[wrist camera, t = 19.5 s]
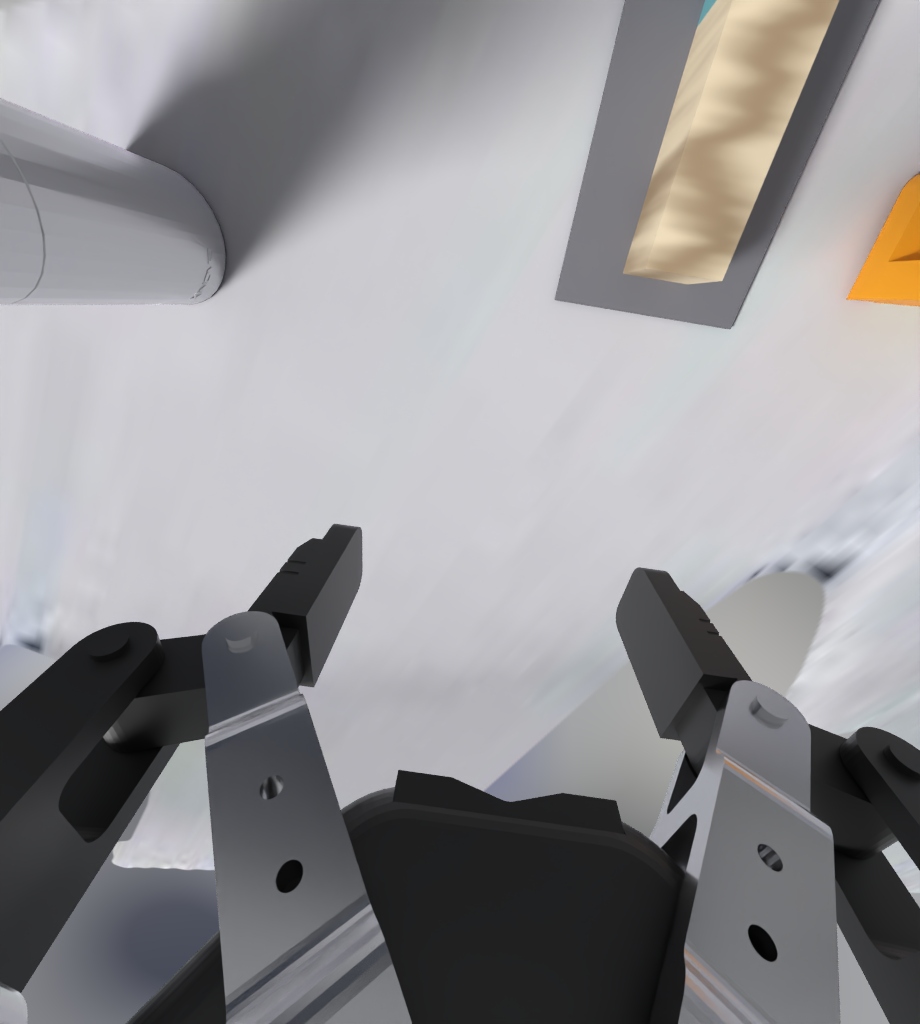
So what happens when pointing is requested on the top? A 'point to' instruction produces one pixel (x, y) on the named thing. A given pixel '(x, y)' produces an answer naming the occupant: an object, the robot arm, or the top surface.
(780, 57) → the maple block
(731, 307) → the rubber mat
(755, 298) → the top surface
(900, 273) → the bracket
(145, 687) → the robot arm
